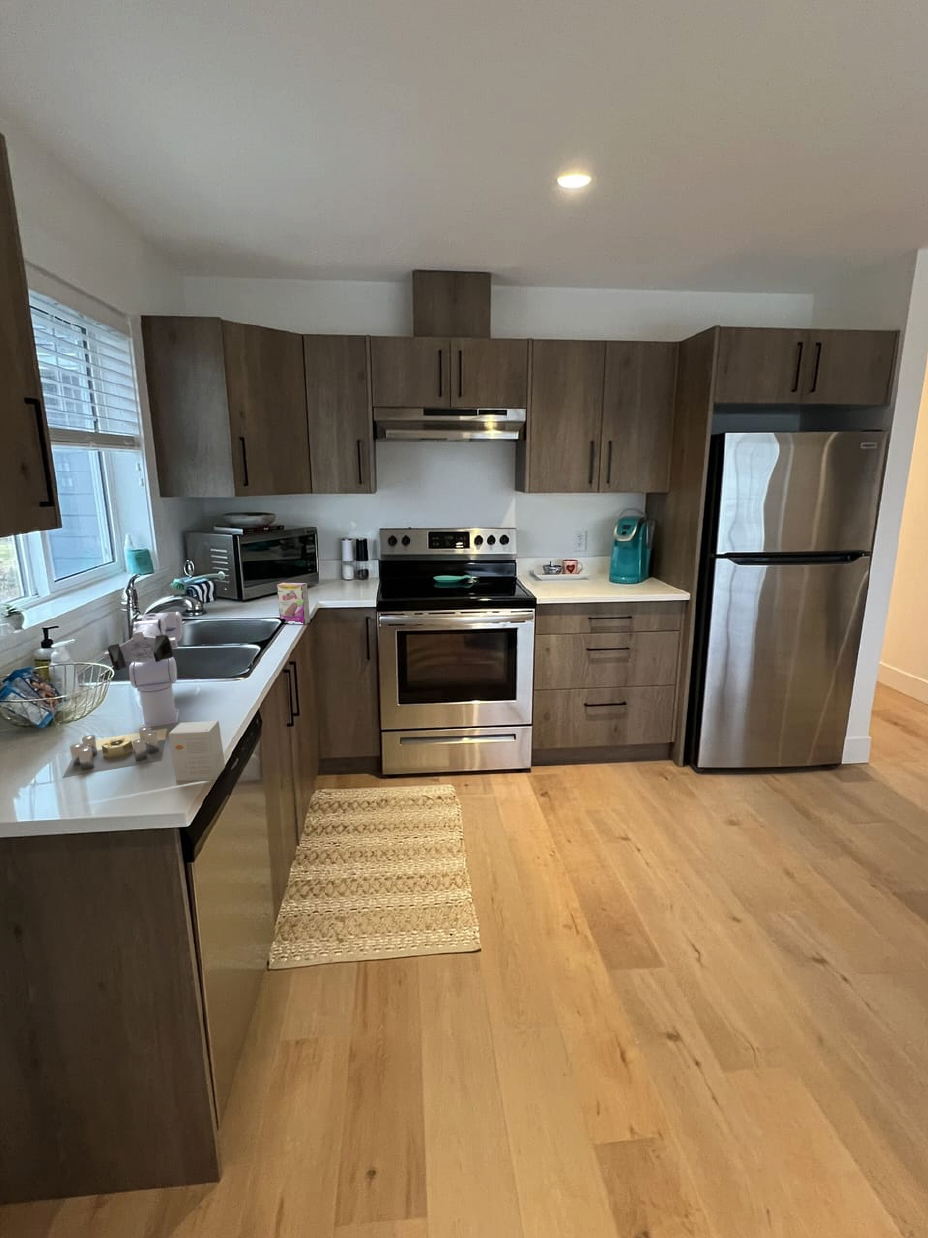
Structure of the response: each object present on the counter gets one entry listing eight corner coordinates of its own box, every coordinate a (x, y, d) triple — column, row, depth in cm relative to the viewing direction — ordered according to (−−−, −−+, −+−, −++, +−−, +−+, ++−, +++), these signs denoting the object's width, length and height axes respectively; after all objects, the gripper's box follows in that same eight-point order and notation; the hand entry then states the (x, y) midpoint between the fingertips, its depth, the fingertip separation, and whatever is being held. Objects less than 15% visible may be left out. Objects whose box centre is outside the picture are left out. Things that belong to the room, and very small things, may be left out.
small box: (226, 768, 129) (220, 720, 127) (216, 781, 123) (209, 731, 121) (186, 770, 129) (179, 721, 126) (175, 783, 123) (167, 733, 121)
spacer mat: (81, 743, 144) (81, 741, 143) (167, 729, 150) (167, 728, 150) (62, 779, 126) (62, 777, 126) (161, 762, 132) (161, 760, 132)
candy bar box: (279, 624, 255) (275, 584, 251) (286, 621, 259) (282, 582, 256) (305, 625, 252) (301, 584, 248) (311, 622, 257) (307, 582, 253)
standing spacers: (78, 754, 137) (75, 737, 136) (161, 741, 142) (158, 724, 141) (69, 772, 128) (65, 754, 127) (157, 758, 134) (154, 740, 133)
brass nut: (105, 751, 138) (103, 740, 137) (134, 746, 140) (132, 735, 139) (101, 760, 133) (99, 749, 133) (131, 755, 135) (130, 744, 135)
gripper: (105, 633, 142) (92, 651, 129) (173, 619, 146) (168, 636, 133) (114, 662, 144) (103, 683, 131) (181, 648, 148) (177, 666, 136)
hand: (136, 661), depth 133 cm, fingers open, 7 cm apart
